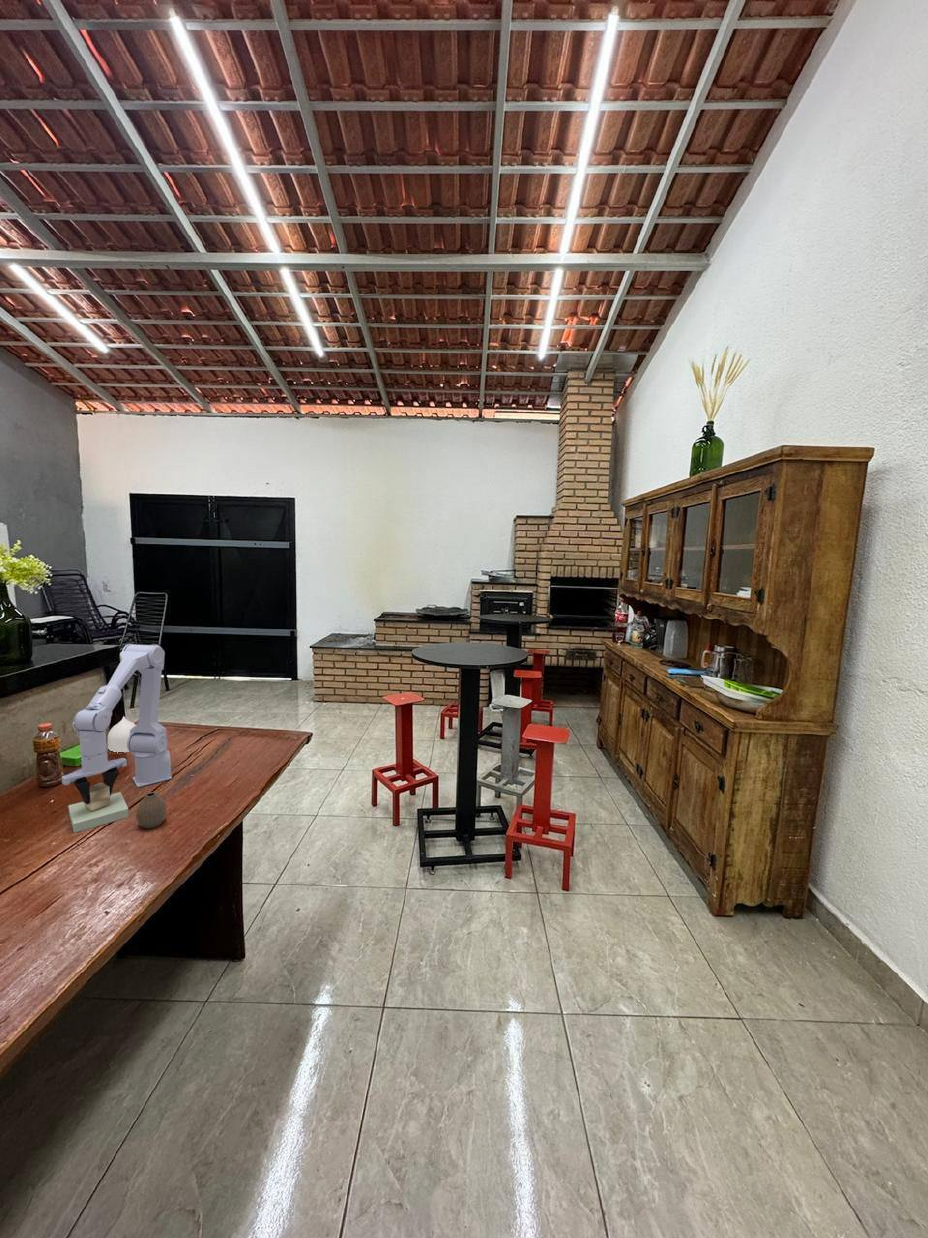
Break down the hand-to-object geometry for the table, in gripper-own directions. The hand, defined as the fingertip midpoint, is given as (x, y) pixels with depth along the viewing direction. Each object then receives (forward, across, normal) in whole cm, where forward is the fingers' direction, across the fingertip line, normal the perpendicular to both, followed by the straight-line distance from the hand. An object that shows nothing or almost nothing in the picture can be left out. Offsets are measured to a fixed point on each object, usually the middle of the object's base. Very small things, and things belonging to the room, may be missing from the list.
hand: (97, 799), depth 135 cm
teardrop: (+5, -26, -44) cm, 51 cm away
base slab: (+5, 0, 0) cm, 5 cm away
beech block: (+2, 0, 0) cm, 2 cm away
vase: (+5, -6, +16) cm, 18 cm away
